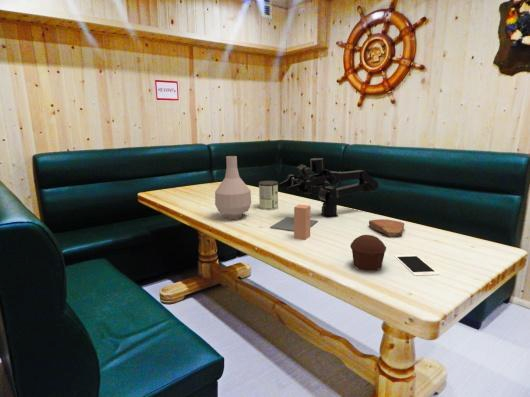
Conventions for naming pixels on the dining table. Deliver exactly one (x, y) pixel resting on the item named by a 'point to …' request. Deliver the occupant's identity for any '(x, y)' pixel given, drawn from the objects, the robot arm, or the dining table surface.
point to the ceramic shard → (387, 227)
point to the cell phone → (416, 265)
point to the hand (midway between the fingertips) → (283, 187)
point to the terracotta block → (302, 221)
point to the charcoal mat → (289, 224)
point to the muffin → (368, 252)
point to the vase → (232, 192)
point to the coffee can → (268, 195)
